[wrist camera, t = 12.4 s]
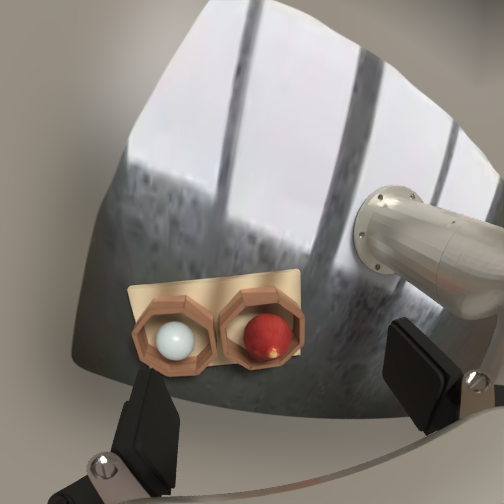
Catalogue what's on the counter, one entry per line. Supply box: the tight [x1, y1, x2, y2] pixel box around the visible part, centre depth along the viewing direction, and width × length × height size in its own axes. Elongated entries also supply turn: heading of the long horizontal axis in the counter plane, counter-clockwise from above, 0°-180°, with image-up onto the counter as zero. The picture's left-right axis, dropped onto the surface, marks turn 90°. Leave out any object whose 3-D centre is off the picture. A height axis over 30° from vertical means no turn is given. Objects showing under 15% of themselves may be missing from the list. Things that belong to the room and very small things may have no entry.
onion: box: [243, 313, 292, 361], centre depth 34 cm, size 6×6×8 cm
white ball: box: [156, 321, 195, 360], centre depth 35 cm, size 5×5×5 cm
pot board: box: [127, 269, 305, 377], centre depth 36 cm, size 22×13×5 cm, turn 94°
